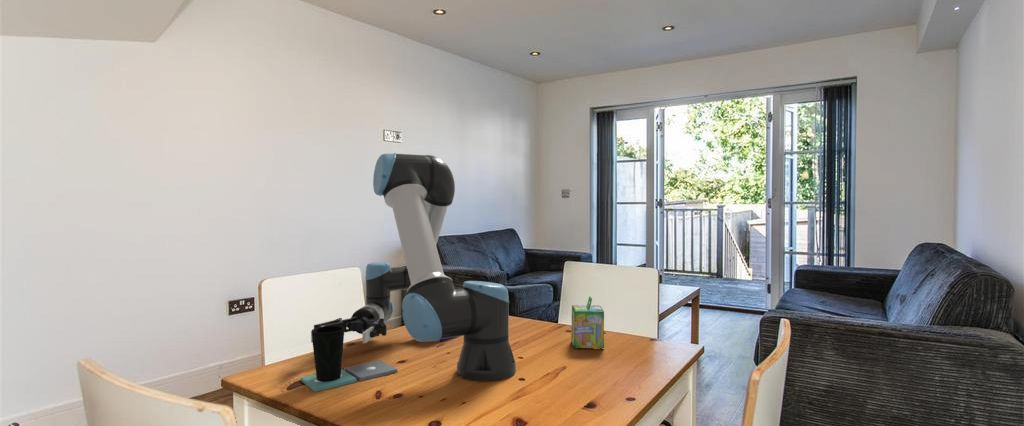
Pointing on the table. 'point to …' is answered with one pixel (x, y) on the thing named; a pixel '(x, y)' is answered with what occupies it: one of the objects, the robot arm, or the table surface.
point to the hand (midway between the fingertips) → (338, 337)
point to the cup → (328, 352)
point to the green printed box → (587, 326)
